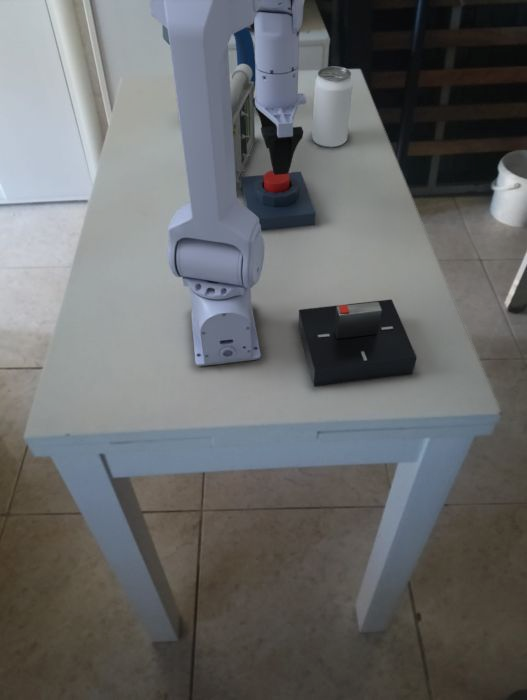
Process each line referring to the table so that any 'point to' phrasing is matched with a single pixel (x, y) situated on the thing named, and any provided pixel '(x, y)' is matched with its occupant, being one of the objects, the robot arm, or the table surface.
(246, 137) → the geiger counter
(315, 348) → the control panel
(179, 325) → the table surface
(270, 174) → the power button
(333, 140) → the can
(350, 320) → the dial
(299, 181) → the button box
